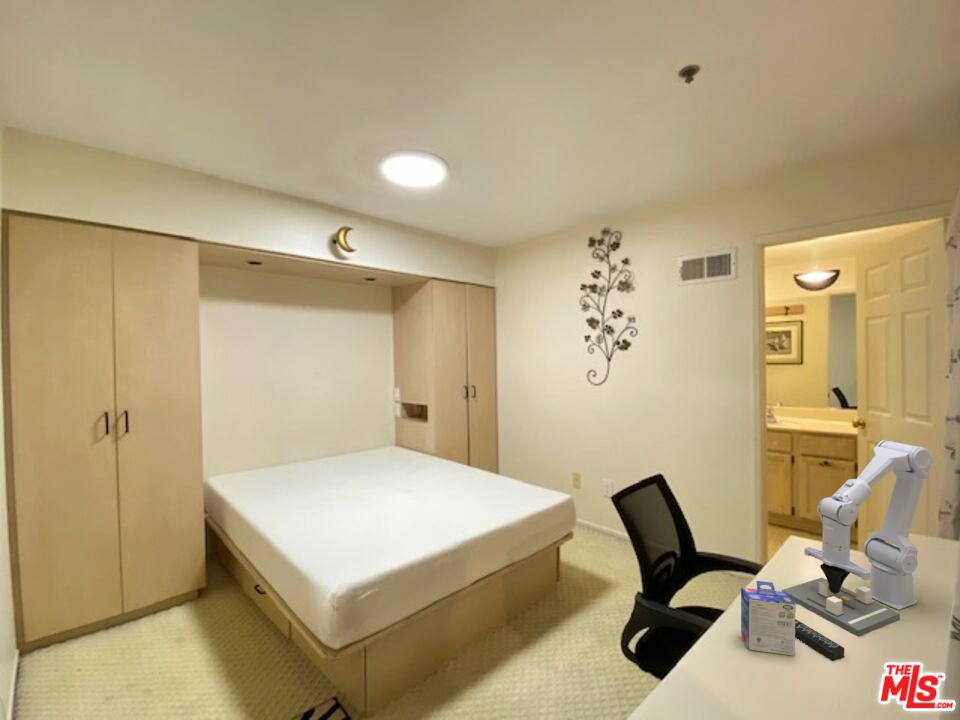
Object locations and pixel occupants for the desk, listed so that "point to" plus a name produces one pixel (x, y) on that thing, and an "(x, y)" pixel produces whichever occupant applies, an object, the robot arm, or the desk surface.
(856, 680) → the desk surface
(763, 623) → the ink cartridge box
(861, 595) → the breaker handle
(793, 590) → the panel
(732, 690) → the desk surface
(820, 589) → the block
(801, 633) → the multiport hub
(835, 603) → the block
